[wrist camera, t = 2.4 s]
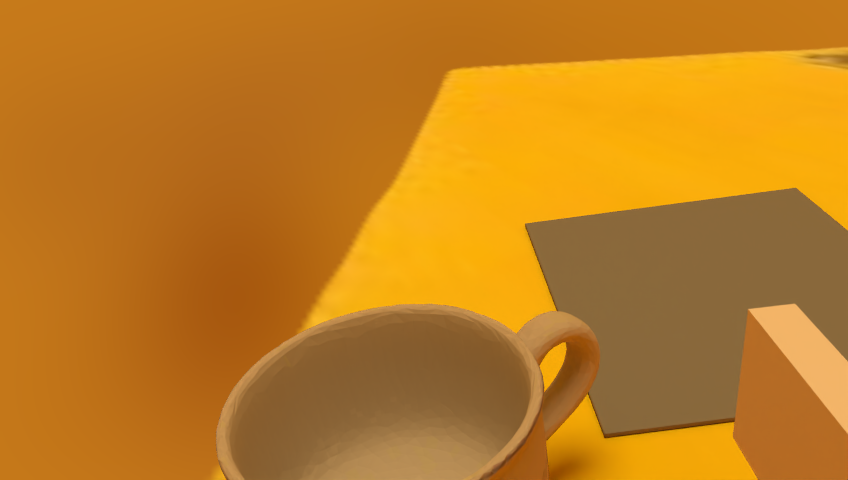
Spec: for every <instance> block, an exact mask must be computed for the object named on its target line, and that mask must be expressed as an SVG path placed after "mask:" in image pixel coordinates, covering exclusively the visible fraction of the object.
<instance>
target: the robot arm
mask: <svg viewBox="0 0 848 480" xmlns="http://www.w3.org/2000/svg"><path fill="white" fill-rule="evenodd" d="M733 438H734V440H735V441H736V443H737V445H738V446H739V448H740V450H741V451H742V453H743V455H744V456H745V458H746V460H747V461H748V463H749V465H750V466H751V468H752V470H753V471H754V473H755V475H756V476H757V478H758V480H848V361H847V360H846V359H845V358H844V357H843V356H842V355H841V354H840V352H839V351H838V350H837V349H836V348H835V347H834V346H833V345H832V344H831V343H830V341H829V340H828V339H827V338H826V337H825V336H824V335H823V334H822V333H821V332H820V330H819V329H818V328H817V327H816V326H815V325H814V324H813V323H812V322H811V321H810V320H809V318H808V317H807V316H806V315H805V314H804V313H803V312H802V311H801V310H800V309H799V307H798V306H797V305H796V304H788V305H779V306H770V307H762V308H753V309H748V314H747V323H746V331H745V339H744V348H743V356H742V365H741V373H740V381H739V390H738V398H737V407H736V415H735V423H734V432H733Z"/></svg>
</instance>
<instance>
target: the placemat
mask: <svg viewBox="0 0 848 480" xmlns="http://www.w3.org/2000/svg"><path fill="white" fill-rule="evenodd" d="M525 226H526V229H527V232H528V234H529V237H530V240H531V242H532V245H533V248H534V250H535V253H536V256H537V258H538V261H539V264H540V266H541V269H542V272H543V274H544V277H545V280H546V282H547V285H548V288H549V290H550V293H551V296H552V298H553V301H554V304H555V306H556V309H557V311H560V312H565V313H568V314H571V315H573V316H575V317H577V318H578V319H580V320H582V321H583V322H584V323H586V324H587V325H588V326H589V327H590V329H591V330H592V331H593V333H594V334H595V336H596V339H597V341H598V344H599V349H600V362H599V369H598V372H597V375H596V378H595V380H594V382H593V384H592V386H591V388H590V390H589V391H588V394H589V397H590V400H591V402H592V405H593V408H594V410H595V413H596V416H597V418H598V421H599V424H600V426H601V429H602V432H603V434H604V437H613V436H620V435H628V434H636V433H644V432H652V431H660V430H668V429H675V428H683V427H691V426H699V425H707V424H715V423H722V422H730V421H735V415H736V407H737V398H738V390H739V381H740V373H741V365H742V356H743V348H744V339H745V331H746V323H747V314H748V309H753V308H762V307H770V306H779V305H788V304H796V305H797V306H798V307H799V309H800V310H801V311H802V312H803V313H804V314H805V315H806V316H807V317H808V318H809V320H810V321H811V322H812V323H813V324H814V325H815V326H816V327H817V328H818V329H819V330H820V332H821V333H822V334H823V335H824V336H825V337H826V338H827V339H828V340H829V341H830V343H831V344H832V345H833V346H834V347H835V348H836V349H837V350H838V351H839V352H840V354H841V355H842V356H843V357H844V358H845V359H846V360H847V361H848V230H846V229H845V228H844V227H843V226H841V225H840V224H839V223H838V222H837V221H835V220H834V219H833V218H832V217H831V216H829V215H828V214H827V213H826V212H824V211H823V210H822V209H821V208H820V207H818V206H817V205H816V204H815V203H814V202H812V201H811V200H810V199H809V198H807V197H806V196H805V195H804V194H803V193H801V192H800V191H799V190H798V189H796V188H791V189H784V190H776V191H769V192H761V193H754V194H746V195H738V196H731V197H723V198H716V199H708V200H701V201H693V202H685V203H678V204H670V205H663V206H655V207H648V208H640V209H632V210H625V211H617V212H610V213H602V214H595V215H587V216H580V217H572V218H564V219H557V220H549V221H542V222H534V223H527V224H525Z"/></svg>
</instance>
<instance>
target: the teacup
mask: <svg viewBox="0 0 848 480" xmlns="http://www.w3.org/2000/svg"><path fill="white" fill-rule="evenodd" d="M563 342H566V347H567V351H566V355H565V360H564V363H563V365H562V367H561V369H560V371H559V373H558V375H557V376H556V378H555V379H554V381H553V382H552V383H551V385H550V386H549V387H548V389H547V390H546V391H545V392H544V382H543V376H542V373H541V370H540V367H539V366H540V364H541V362H542V360H543V359H544V357H545V356H546V354H547V353H548V352H549V351H550V350H551V349H552V348H553V347H555V346H557V345H559V344H561V343H563ZM599 362H600V349H599V344H598V341H597V339H596V336H595V334H594V333H593V331H592V330H591V329H590V327H589V326H588V325H587V324H586V323H584V322H583V321H582V320H580V319H578V318H577V317H575V316H573V315H571V314H568V313H565V312H560V311H550V312H547V313H544V314H540V315H538V316H536V317H535V318H533V319H532V320H530V321H529V322H527V323H526V324H525V325H524V326H523V327H522V328H521V329H520V330H519V332H518V333H517V334H516V333H514V332H513V331H512V330H510V329H509V328H507V327H506V326H505V325H503V324H501V323H500V322H498V321H496V320H494V319H491V318H489V317H487V316H484V315H480V314H477V313H475V312H473V311H469V310H465V309H462V308H458V307H453V306H447V305H435V304H406V305H395V306H386V307H378V308H373V309H368V310H363V311H359V312H355V313H351V314H347V315H344V316H340V317H337V318H334V319H331V320H329V321H326V322H323V323H321V324H319V325H316V326H314V327H312V328H309V329H307V330H305V331H303V332H301V333H300V334H298V335H296V336H294V337H292V338H291V339H289V340H287V341H286V342H284V343H282V344H281V345H280V346H278V347H277V348H275V349H274V350H272V351H271V352H269V353H268V354H267V355H265V356H264V357H263V358H261V359H260V360H259V361H258V362H257V363H256V364H255V365H254V366H252V367H251V368H250V369H249V371H248V372H247V373H246V374H245V375H244V376H243V377H242V378H241V379H240V381H239V382H238V383H237V384H236V386H235V387H234V389H233V390H232V392H231V393H230V395H229V398H228V399H227V401H226V403H225V405H224V407H223V409H222V412H221V415H220V418H219V423H218V427H217V431H216V451H217V456H218V461H219V465H220V467H221V470H222V472H223V474H224V476H225V478H226V479H227V480H549V470H548V459H547V449H546V441H547V440H548V439H549V438H550V437H551V436H552V435H553V433H554V432H555V431H556V430H557V429H558V428H559V427H560V426H561V425H562V424H563V423H564V422H565V421H566V419H567V418H568V417H569V416H570V415H571V414H572V413H573V412H574V411H575V409H576V408H577V407H578V406H579V404H580V403H581V402H582V401H583V399H584V398H585V396H586V395H587V393H588V391H589V390H590V388H591V386H592V384H593V382H594V380H595V378H596V375H597V372H598V369H599Z"/></svg>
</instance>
